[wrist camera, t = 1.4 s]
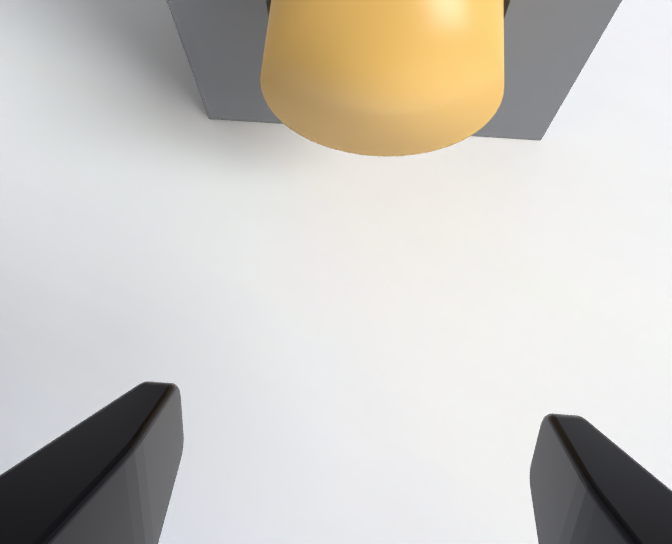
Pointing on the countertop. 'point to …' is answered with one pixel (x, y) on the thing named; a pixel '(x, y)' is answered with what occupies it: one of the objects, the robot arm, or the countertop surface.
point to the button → (384, 71)
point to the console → (519, 58)
